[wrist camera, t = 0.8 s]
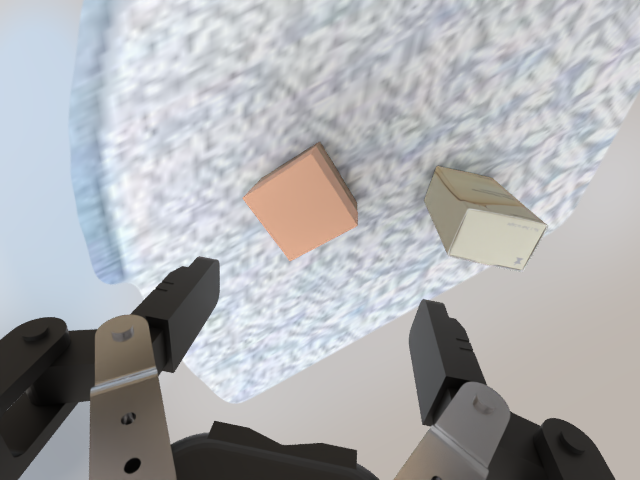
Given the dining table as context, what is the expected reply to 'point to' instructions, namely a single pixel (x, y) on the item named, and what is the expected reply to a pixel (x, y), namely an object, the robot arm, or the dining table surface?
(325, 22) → the dining table surface
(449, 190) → the skincare box
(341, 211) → the terracotta slab
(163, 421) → the robot arm
